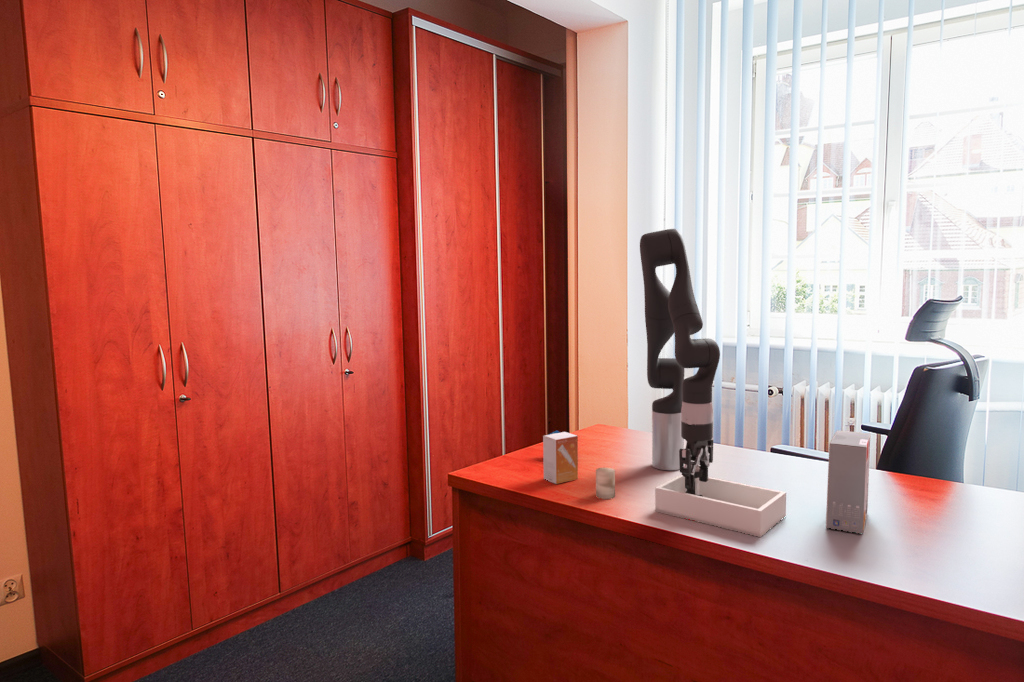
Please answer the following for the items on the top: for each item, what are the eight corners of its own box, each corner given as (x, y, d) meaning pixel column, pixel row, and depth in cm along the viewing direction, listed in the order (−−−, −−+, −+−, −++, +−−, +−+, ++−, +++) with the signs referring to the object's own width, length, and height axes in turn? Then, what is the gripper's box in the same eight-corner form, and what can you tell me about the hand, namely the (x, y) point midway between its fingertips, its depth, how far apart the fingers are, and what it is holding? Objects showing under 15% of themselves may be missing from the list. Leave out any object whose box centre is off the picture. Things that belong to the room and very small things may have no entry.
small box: (556, 484, 182) (555, 439, 181) (543, 479, 188) (542, 435, 186) (578, 479, 187) (578, 435, 186) (565, 474, 192) (564, 431, 191)
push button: (712, 505, 161) (711, 466, 160) (700, 511, 157) (700, 471, 156) (688, 499, 166) (688, 461, 165) (676, 504, 162) (676, 465, 161)
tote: (685, 494, 172) (685, 472, 172) (785, 516, 155) (786, 492, 154) (655, 511, 160) (655, 487, 160) (760, 537, 143) (760, 511, 142)
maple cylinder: (602, 491, 176) (602, 466, 175) (618, 495, 173) (618, 469, 172) (592, 496, 172) (592, 470, 172) (608, 500, 169) (608, 474, 168)
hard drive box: (863, 535, 143) (866, 447, 141) (825, 529, 147) (827, 443, 145) (868, 513, 156) (870, 432, 154) (833, 508, 160) (835, 428, 158)
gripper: (695, 412, 167) (695, 475, 169) (669, 422, 157) (668, 489, 158) (723, 416, 162) (723, 480, 164) (698, 427, 152) (697, 495, 153)
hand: (696, 484), depth 161 cm, fingers open, 7 cm apart
